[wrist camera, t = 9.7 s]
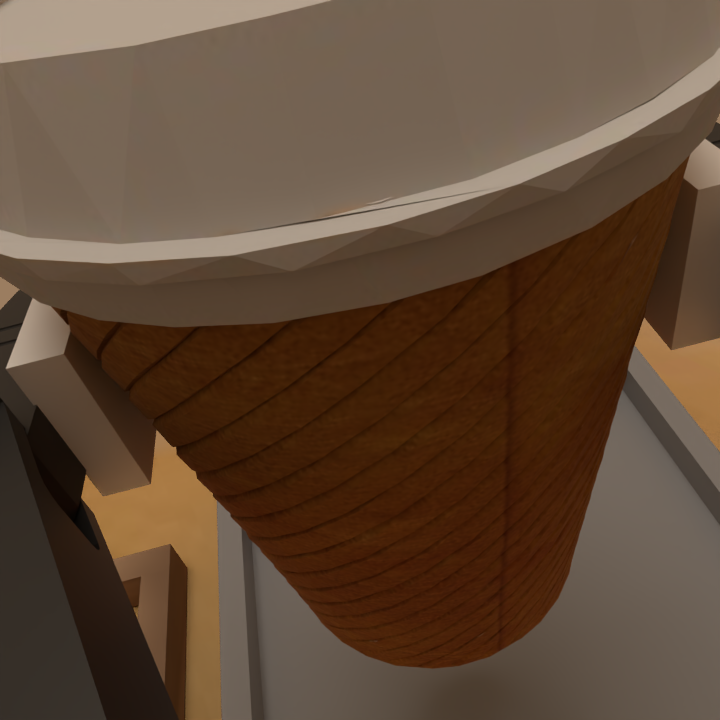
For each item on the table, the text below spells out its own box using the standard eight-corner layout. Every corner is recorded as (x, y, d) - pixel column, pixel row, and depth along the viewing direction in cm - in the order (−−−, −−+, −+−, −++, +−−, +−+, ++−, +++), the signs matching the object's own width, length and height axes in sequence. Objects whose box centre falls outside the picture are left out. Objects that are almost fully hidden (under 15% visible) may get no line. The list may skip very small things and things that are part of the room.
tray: (260, 1036, 18) (228, 1031, 16) (234, 487, 32) (215, 453, 30) (960, 838, 18) (1007, 812, 16) (626, 382, 32) (631, 341, 30)
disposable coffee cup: (267, 397, 19) (68, -78, 11) (604, 367, 18) (648, -221, 10) (178, 761, 12) (-493, 188, 4) (724, 771, 11) (1233, -146, 3)
